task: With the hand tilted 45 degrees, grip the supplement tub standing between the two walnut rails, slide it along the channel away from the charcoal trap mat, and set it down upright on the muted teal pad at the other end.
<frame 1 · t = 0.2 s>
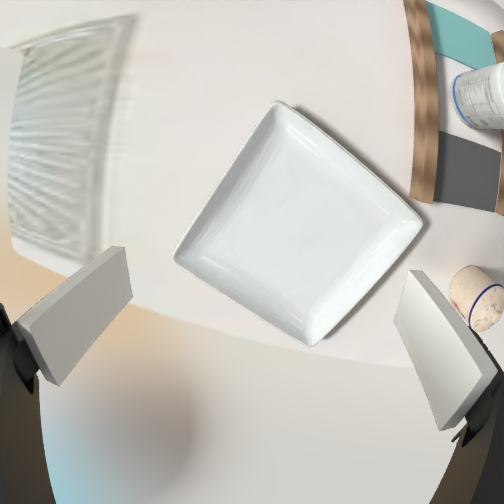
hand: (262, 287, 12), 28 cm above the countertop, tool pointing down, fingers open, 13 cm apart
trap mat: (466, 173, 33), on the countertop
teacup with lid: (468, 286, 40), on the countertop
channel rails: (468, 101, 28), on the countertop
square plate: (298, 232, 40), on the countertop
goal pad: (460, 38, 24), on the countertop
supplement tub: (467, 101, 28), on the countertop
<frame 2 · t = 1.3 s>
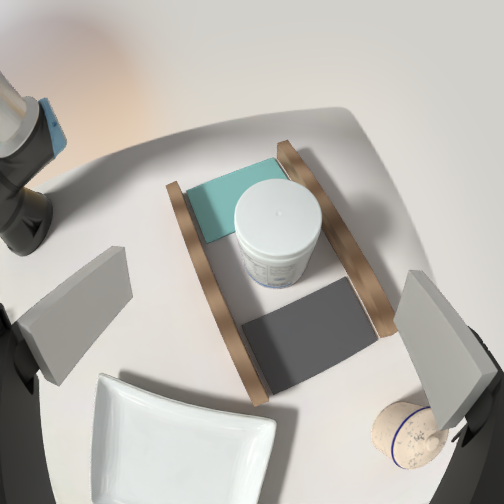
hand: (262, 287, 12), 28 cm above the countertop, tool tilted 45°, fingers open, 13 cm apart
trap mat: (311, 335, 38), on the countertop
teacup with lid: (402, 423, 31), on the countertop
channel rails: (274, 260, 42), on the countertop
square plate: (174, 470, 31), on the countertop
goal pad: (242, 197, 46), on the countertop
supplement tub: (274, 260, 42), on the countertop
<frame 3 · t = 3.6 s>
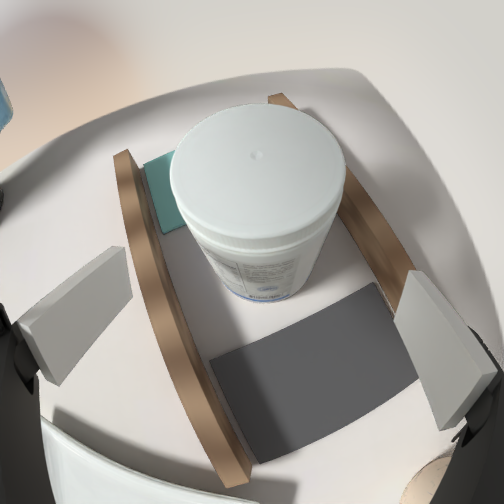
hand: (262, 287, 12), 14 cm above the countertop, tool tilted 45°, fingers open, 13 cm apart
trap mat: (322, 375, 22), on the countertop
teacup with lid: (441, 481, 16), on the countertop
channel rails: (263, 257, 27), on the countertop
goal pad: (218, 168, 32), on the countertop
supplement tub: (263, 258, 27), on the countertop
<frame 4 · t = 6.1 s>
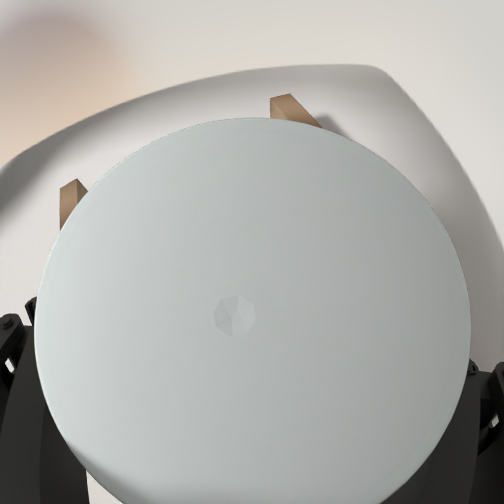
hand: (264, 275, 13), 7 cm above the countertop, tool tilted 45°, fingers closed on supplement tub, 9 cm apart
channel rails: (261, 349, 18), on the countertop
supplement tub: (261, 349, 18), on the countertop, touching gripper
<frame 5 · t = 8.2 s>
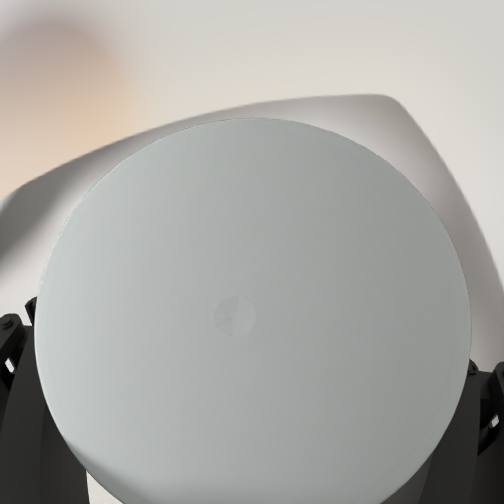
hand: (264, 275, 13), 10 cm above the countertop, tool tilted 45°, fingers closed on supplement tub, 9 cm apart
supplement tub: (261, 349, 18), point 3 cm above the countertop, touching gripper
when the fingers open (8 cm above the countertop, at t = 10.7 s): supplement tub drops 1 cm, resting on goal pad.
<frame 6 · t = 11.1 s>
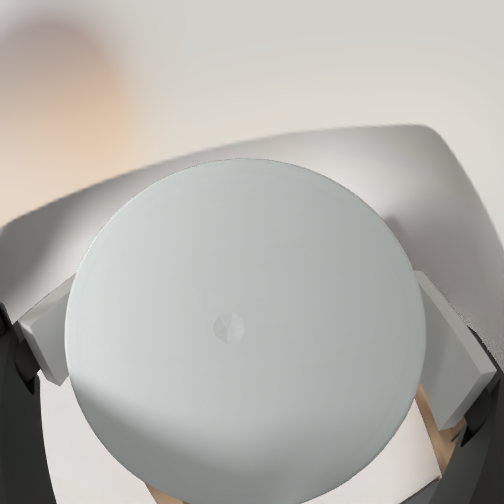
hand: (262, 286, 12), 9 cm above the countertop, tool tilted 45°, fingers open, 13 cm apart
channel rails: (326, 481, 15), on the countertop
supplement tub: (258, 351, 19), resting on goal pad
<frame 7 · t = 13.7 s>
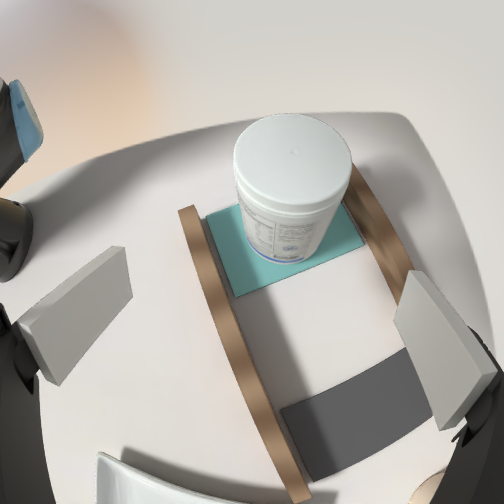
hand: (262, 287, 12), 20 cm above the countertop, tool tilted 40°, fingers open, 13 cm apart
trap mat: (364, 417, 26), on the countertop
teacup with lid: (437, 490, 20), on the countertop
channel rails: (327, 325, 30), on the countertop
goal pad: (285, 230, 34), on the countertop
supplement tub: (283, 230, 34), resting on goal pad
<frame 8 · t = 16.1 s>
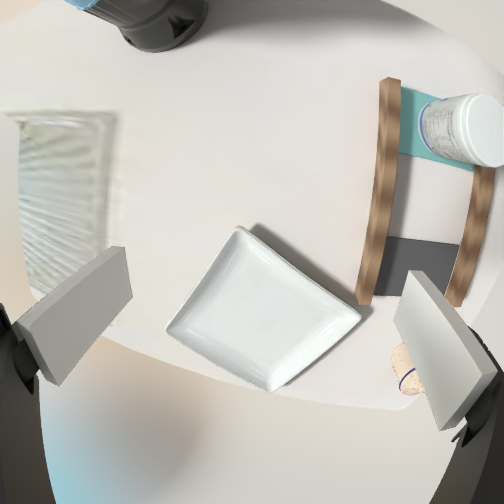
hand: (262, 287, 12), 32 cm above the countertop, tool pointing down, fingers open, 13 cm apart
trap mat: (416, 269, 43), on the countertop
teacup with lid: (412, 352, 51), on the countertop
channel rails: (431, 201, 38), on the countertop
square plate: (259, 316, 51), on the countertop
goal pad: (438, 129, 34), on the countertop
supplement tub: (438, 129, 33), resting on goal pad
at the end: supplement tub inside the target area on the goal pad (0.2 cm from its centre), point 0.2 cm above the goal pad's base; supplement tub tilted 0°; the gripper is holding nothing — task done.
